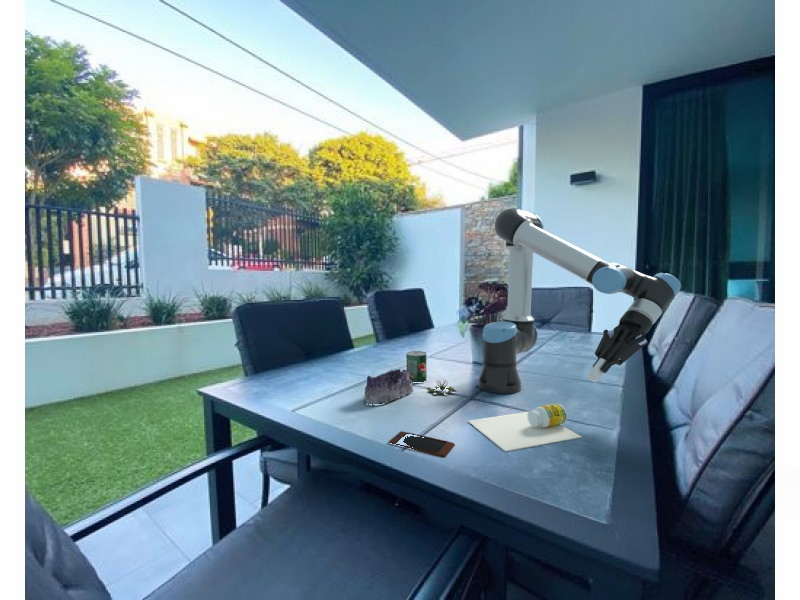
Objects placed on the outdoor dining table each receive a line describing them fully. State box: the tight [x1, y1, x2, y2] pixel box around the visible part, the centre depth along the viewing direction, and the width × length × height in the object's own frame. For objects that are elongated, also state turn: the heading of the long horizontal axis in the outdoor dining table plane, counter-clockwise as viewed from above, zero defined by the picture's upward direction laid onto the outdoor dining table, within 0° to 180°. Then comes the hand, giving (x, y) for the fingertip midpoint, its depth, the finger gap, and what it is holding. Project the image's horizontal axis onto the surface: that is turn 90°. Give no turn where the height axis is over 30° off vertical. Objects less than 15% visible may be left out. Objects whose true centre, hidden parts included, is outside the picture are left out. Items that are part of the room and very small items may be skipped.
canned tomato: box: [406, 350, 428, 382], centre depth 138 cm, size 8×8×11 cm
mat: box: [467, 411, 583, 453], centre depth 93 cm, size 22×18×1 cm
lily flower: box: [427, 379, 455, 396], centre depth 125 cm, size 12×12×5 cm
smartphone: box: [388, 431, 456, 459], centre depth 86 cm, size 7×1×15 cm
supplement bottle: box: [527, 403, 568, 428], centre depth 94 cm, size 5×5×10 cm
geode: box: [363, 368, 414, 405], centre depth 119 cm, size 20×12×10 cm, turn 145°
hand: (591, 378), depth 99 cm, fingers closed
